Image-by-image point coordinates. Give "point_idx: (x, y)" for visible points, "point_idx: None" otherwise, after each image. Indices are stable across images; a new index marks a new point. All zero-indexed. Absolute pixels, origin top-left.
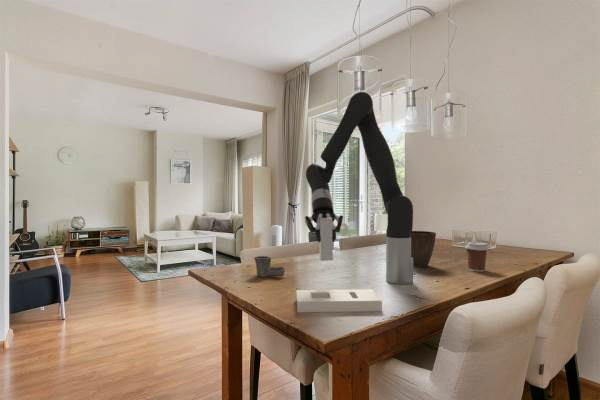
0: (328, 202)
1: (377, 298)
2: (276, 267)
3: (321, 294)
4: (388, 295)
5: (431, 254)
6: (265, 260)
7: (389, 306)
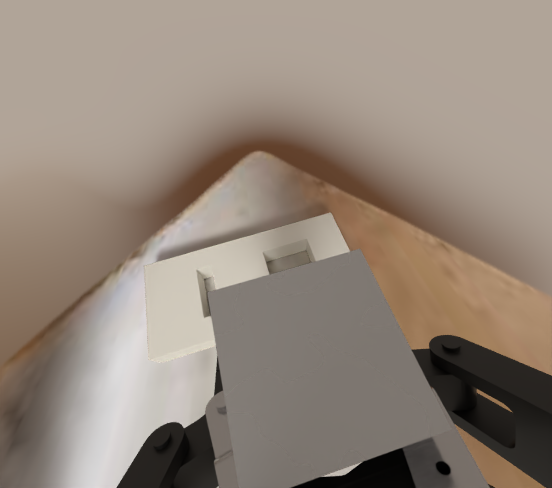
0: None
1: (151, 278)
2: None
3: None
4: (101, 416)
5: None
6: None
7: (129, 311)
